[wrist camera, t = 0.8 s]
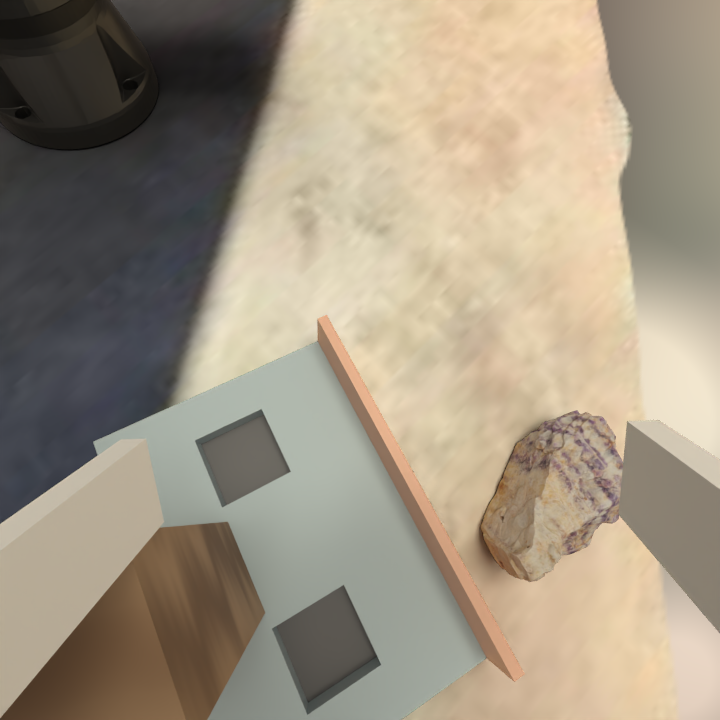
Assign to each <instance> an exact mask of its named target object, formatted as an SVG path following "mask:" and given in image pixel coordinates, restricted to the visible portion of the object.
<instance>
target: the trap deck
mask: <svg viewBox="0 0 720 720" xmlns="http://www.w3.org/2000/svg"><path fill="white" fill-rule="evenodd" d="M121 439H146V441H147V446H148V450H149V455H150V459H151V464H152V469H153V473H154V478H155V483H156V487H157V492H158V496H159V501H160V506H161V510H162V515H163V519H164V523H163V524H162V525H161V526H160V528H162V527H173V526H185V525H196V524H208V523H219V522H228V523H229V525H230V528H231V530H232V533H233V535H234V538H235V540H236V542H237V545H238V547H239V550H240V552H241V555H242V557H243V560H244V562H245V564H246V567H247V569H248V572H249V574H250V577H251V579H252V581H253V584H254V586H255V589H256V591H257V594H258V596H259V599H260V601H261V603H262V606H263V608H264V611H265V614H264V616H263V618H262V620H261V621H260V623H259V625H258V627H257V629H256V631H255V632H254V634H253V636H252V638H251V640H250V642H249V644H248V645H247V647H246V649H245V651H244V653H243V655H242V656H241V658H240V660H239V662H238V664H237V666H236V668H235V669H234V671H233V673H232V675H231V677H230V679H229V681H228V682H227V684H226V686H225V688H224V690H223V692H222V693H221V695H220V697H219V699H218V701H217V703H216V705H215V706H214V708H213V710H212V712H211V714H210V716H209V717H208V719H207V720H402V719H403V718H405V717H406V716H407V715H409V714H410V713H412V712H413V711H414V710H416V709H417V708H418V707H420V706H421V705H423V704H424V703H425V702H427V701H428V700H430V699H431V698H432V697H434V696H435V695H436V694H438V693H439V692H441V691H442V690H443V689H445V688H446V687H447V686H449V685H450V684H452V683H453V682H454V681H456V680H457V679H458V678H460V677H461V676H463V675H464V674H465V673H467V672H468V671H470V670H471V669H472V668H474V667H475V666H476V665H478V664H479V663H481V662H482V661H483V660H485V659H486V658H487V659H488V660H490V661H491V662H492V663H493V664H494V665H495V666H497V667H498V668H499V669H500V670H501V671H502V672H504V673H505V674H506V675H507V676H508V677H509V678H511V679H512V680H513V681H514V682H515V681H516V680H517V679H519V678H520V677H521V676H523V675H524V672H523V670H522V668H521V667H520V665H519V663H518V661H517V659H516V658H515V656H514V654H513V652H512V650H511V649H510V647H509V645H508V643H507V641H506V639H505V638H504V636H503V634H502V632H501V630H500V629H499V627H498V625H497V623H496V621H495V619H494V618H493V616H492V614H491V612H490V610H489V609H488V607H487V605H486V603H485V601H484V600H483V598H482V596H481V594H480V592H479V590H478V589H477V587H476V585H475V583H474V581H473V580H472V578H471V576H470V574H469V572H468V570H467V569H466V567H465V565H464V563H463V561H462V560H461V558H460V556H459V554H458V552H457V551H456V549H455V547H454V545H453V543H452V541H451V540H450V538H449V536H448V534H447V532H446V531H445V529H444V527H443V525H442V523H441V521H440V520H439V518H438V516H437V514H436V512H435V511H434V509H433V507H432V505H431V503H430V502H429V500H428V498H427V496H426V494H425V492H424V491H423V489H422V487H421V485H420V483H419V482H418V480H417V478H416V476H415V474H414V473H413V471H412V469H411V467H410V465H409V463H408V462H407V460H406V458H405V456H404V454H403V453H402V451H401V449H400V447H399V445H398V443H397V442H396V440H395V438H394V436H393V434H392V433H391V431H390V429H389V427H388V425H387V424H386V422H385V420H384V418H383V416H382V414H381V413H380V411H379V409H378V407H377V405H376V404H375V402H374V400H373V398H372V396H371V394H370V393H369V391H368V389H367V387H366V385H365V384H364V382H363V380H362V378H361V376H360V375H359V373H358V371H357V369H356V367H355V365H354V364H353V362H352V360H351V358H350V356H349V355H348V353H347V351H346V349H345V347H344V345H343V344H342V342H341V340H340V338H339V336H338V335H337V333H336V331H335V329H334V327H333V326H332V324H331V322H330V320H329V318H328V316H327V315H325V316H323V317H321V318H319V319H318V341H317V342H315V343H313V344H310V345H308V346H306V347H304V348H301V349H299V350H297V351H295V352H292V353H290V354H288V355H286V356H284V357H281V358H279V359H277V360H275V361H272V362H270V363H268V364H266V365H263V366H261V367H259V368H257V369H255V370H252V371H250V372H248V373H246V374H243V375H241V376H239V377H237V378H235V379H232V380H230V381H228V382H226V383H223V384H221V385H219V386H217V387H214V388H212V389H210V390H208V391H206V392H203V393H201V394H199V395H197V396H194V397H192V398H190V399H188V400H185V401H183V402H181V403H179V404H177V405H174V406H172V407H170V408H168V409H165V410H163V411H161V412H159V413H156V414H154V415H152V416H150V417H148V418H145V419H143V420H141V421H139V422H136V423H134V424H132V425H130V426H128V427H125V428H123V429H121V430H119V431H116V432H114V433H112V434H110V435H107V436H105V437H103V438H101V439H99V440H96V441H94V442H93V443H94V446H95V449H96V452H97V455H99V454H101V453H102V452H104V451H105V450H106V449H108V448H109V447H111V446H112V445H114V444H115V443H116V442H118V441H119V440H121Z"/></svg>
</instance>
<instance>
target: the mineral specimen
mask: <svg viewBox="0 0 720 720" xmlns="http://www.w3.org/2000/svg"><path fill="white" fill-rule="evenodd" d="M615 438H616V436H615V435H614V433H613V431H612V430H611V429H610V427H609V426H608V424H607V422H606V421H605V420H604V418H603V417H602V416H592V415H591V414H589V413H587V412H585V413H583V414H579V412H578V411H573V412H570V413H568V414H565V415H563V416H561V417H558V418H556V419H554V420H552V421H545V422H544V423H543V424H541V426H540V427H539V429H538V430H536V431H532V432H531V433H530V434H529V435H528V436H526V437H525V438H524V439H522V440H521V441H520V442H518V443H517V444H516V446H515V449H514V451H513V454H512V455H511V458H510V461H509V463H508V465H507V467H506V470H505V472H504V475H503V479H502V480H501V481H500V484H499V487H498V490H497V492H496V494H495V496H494V497H493V499H492V500H491V502H490V503H489V506H488V508H487V510H486V513H485V515H484V520H482V522H483V523H482V525H481V530H482V531H483V536H484V540H485V542H486V544H487V546H488V548H489V550H490V552H491V554H492V555H493V557H494V559H495V561H496V562H497V563H498V564H499V566H500V567H501V568H502V569H505V570H506V571H507V572H508V573H509V574H510V575H512V576H514V577H516V578H519V579H524V580H527V581H530V582H532V581H537V580H539V579H541V578H542V577H544V575H545V573H548V572H550V571H552V570H553V569H554V565H555V564H556V563H558V561H559V560H560V559H561V555H569V554H572V553H575V552H577V551H579V550H581V549H583V548H586V547H587V546H588V545H589V544H590V542H591V538H592V536H593V533H594V531H595V530H596V529H597V528H598V527H599V526H600V524H602V523H614V522H616V521H617V520H618V519H619V504H620V493H621V482H622V471H623V461H622V459H621V458H620V456H619V454H618V452H617V450H616V443H615Z"/></svg>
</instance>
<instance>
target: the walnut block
mask: <svg viewBox="0 0 720 720" xmlns="http://www.w3.org/2000/svg"><path fill="white" fill-rule="evenodd" d="M264 614H265V611H264V608H263V606H262V603H261V601H260V599H259V596H258V594H257V591H256V589H255V586H254V584H253V581H252V579H251V577H250V574H249V572H248V569H247V567H246V564H245V562H244V560H243V557H242V555H241V552H240V550H239V547H238V545H237V542H236V540H235V538H234V535H233V533H232V530H231V528H230V525H229V523H228V522H219V523H208V524H196V525H185V526H173V527H162V528H159V529H158V530H157V531H156V532H155V534H154V535H153V536H152V537H151V538H150V540H149V541H148V542H147V543H146V544H145V546H144V547H143V548H142V549H141V550H140V551H139V553H138V554H137V555H136V556H135V557H134V559H133V560H132V561H131V562H130V563H129V565H128V566H127V567H126V568H125V569H124V571H123V572H122V573H121V574H120V575H119V577H118V578H117V579H116V580H115V581H114V583H113V584H112V585H111V586H110V587H109V589H108V590H107V591H106V592H105V593H104V595H103V596H102V597H101V598H100V599H99V601H98V602H97V603H96V604H95V605H94V607H93V608H92V609H91V610H90V611H89V613H88V614H87V615H86V616H85V617H84V619H83V620H82V621H81V622H80V623H79V625H78V626H77V627H76V628H75V629H74V631H73V632H72V633H71V634H70V635H69V637H68V638H67V639H66V640H65V641H64V643H63V644H62V645H61V646H60V647H59V648H58V650H57V651H56V652H55V653H54V654H53V656H52V657H51V658H50V659H49V660H48V662H47V663H46V664H45V665H44V666H43V668H42V669H41V670H40V671H39V672H38V674H37V675H36V676H35V677H34V678H33V680H32V681H31V682H30V683H29V684H28V686H27V687H26V688H25V689H24V690H23V692H22V693H21V694H20V695H19V696H18V698H17V699H16V700H15V701H14V702H13V704H12V705H11V706H10V707H9V708H8V710H7V711H6V712H5V713H4V714H3V716H2V717H1V718H0V720H207V719H208V717H209V716H210V714H211V712H212V710H213V708H214V706H215V705H216V703H217V701H218V699H219V697H220V695H221V693H222V692H223V690H224V688H225V686H226V684H227V682H228V681H229V679H230V677H231V675H232V673H233V671H234V669H235V668H236V666H237V664H238V662H239V660H240V658H241V656H242V655H243V653H244V651H245V649H246V647H247V645H248V644H249V642H250V640H251V638H252V636H253V634H254V632H255V631H256V629H257V627H258V625H259V623H260V621H261V620H262V618H263V616H264Z"/></svg>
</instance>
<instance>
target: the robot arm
mask: <svg viewBox="0 0 720 720" xmlns="http://www.w3.org/2000/svg"><path fill="white" fill-rule="evenodd" d="M157 97H158V80H157V76H156V74H155V71H154V68H153V65H152V63H151V60H150V57H149V55H148V53H147V51H146V49H145V48H144V46H143V44H142V43H141V42H140V40H139V39H138V38H137V36H136V35H135V33H134V32H133V31H132V29H131V28H130V27H129V25H128V24H127V23H126V21H125V20H124V18H123V17H122V16H121V14H120V13H119V12H118V10H117V9H116V8H115V6H114V5H113V3H112V2H111V1H110V0H0V122H1V123H2V124H3V125H4V126H5V127H6V128H7V129H8V130H9V131H10V132H11V133H13V134H14V135H16V136H17V137H19V138H21V139H23V140H25V141H27V142H30V143H32V144H35V145H39V146H43V147H48V148H55V149H81V148H88V147H93V146H98V145H102V144H105V143H108V142H111V141H113V140H116V139H118V138H120V137H122V136H124V135H126V134H127V133H129V132H131V131H132V130H134V129H135V128H136V127H137V126H139V125H140V124H141V123H142V122H143V121H144V120H145V119H146V118H147V116H148V115H149V114H150V112H151V111H152V109H153V108H154V105H155V103H156V100H157ZM619 515H620V517H621V518H622V519H623V520H624V521H625V523H626V524H627V525H628V526H629V527H630V528H631V530H632V531H633V532H634V533H635V534H636V535H637V537H638V538H639V539H640V540H641V541H642V543H643V544H644V545H645V546H646V547H647V548H648V550H649V551H650V552H651V553H652V554H653V555H654V557H655V558H656V559H657V560H658V561H659V562H660V564H661V565H662V566H663V567H664V568H665V570H666V571H667V572H668V573H669V574H670V575H671V577H672V578H673V579H674V580H675V581H676V582H677V584H678V585H679V586H680V587H681V588H682V589H683V591H684V592H685V593H686V594H687V595H688V597H689V598H690V599H691V600H692V601H693V602H694V603H695V605H696V606H697V607H698V608H699V609H700V611H701V612H702V613H703V614H704V615H705V616H706V618H707V619H708V620H709V621H710V622H711V623H712V624H713V626H714V627H715V628H716V629H717V630H718V632H719V633H720V459H718V458H717V457H715V456H714V455H712V454H710V453H709V452H707V451H706V450H704V449H702V448H701V447H700V446H698V445H696V444H694V443H693V442H692V441H690V440H689V439H687V438H686V437H684V436H682V435H681V434H679V433H678V432H676V431H675V430H673V429H672V428H670V427H668V426H667V425H665V424H664V423H662V422H661V421H659V420H647V421H627V429H626V439H625V450H624V461H623V471H622V482H621V493H620V504H619ZM163 523H164V519H163V515H162V510H161V506H160V501H159V496H158V492H157V487H156V483H155V478H154V473H153V469H152V464H151V459H150V455H149V450H148V446H147V441H146V439H121V440H119V441H118V442H116V443H115V444H114V445H112V446H111V447H109V448H108V449H106V450H105V451H104V452H102V453H101V454H99V455H98V456H96V457H95V458H94V459H92V460H91V461H89V462H88V463H86V464H85V465H84V466H82V467H81V468H79V469H78V470H77V471H75V472H74V473H72V474H71V475H69V476H68V477H67V478H65V479H64V480H62V481H61V482H59V483H58V484H57V485H55V486H54V487H52V488H51V489H49V490H48V491H47V492H45V493H44V494H42V495H41V496H40V497H38V498H37V499H35V500H34V501H32V502H31V503H30V504H28V505H27V506H25V507H24V508H22V509H21V510H20V511H18V512H17V513H15V514H14V515H12V516H11V517H10V518H8V519H7V520H5V521H4V522H2V523H1V524H0V718H1V717H2V716H3V714H4V713H5V712H6V711H7V710H8V708H9V707H10V706H11V705H12V704H13V702H14V701H15V700H16V699H17V698H18V696H19V695H20V694H21V693H22V692H23V690H24V689H25V688H26V687H27V686H28V684H29V683H30V682H31V681H32V680H33V678H34V677H35V676H36V675H37V674H38V672H39V671H40V670H41V669H42V668H43V666H44V665H45V664H46V663H47V662H48V660H49V659H50V658H51V657H52V656H53V654H54V653H55V652H56V651H57V650H58V648H59V647H60V646H61V645H62V644H63V643H64V641H65V640H66V639H67V638H68V637H69V635H70V634H71V633H72V632H73V631H74V629H75V628H76V627H77V626H78V625H79V623H80V622H81V621H82V620H83V619H84V617H85V616H86V615H87V614H88V613H89V611H90V610H91V609H92V608H93V607H94V605H95V604H96V603H97V602H98V601H99V599H100V598H101V597H102V596H103V595H104V593H105V592H106V591H107V590H108V589H109V587H110V586H111V585H112V584H113V583H114V581H115V580H116V579H117V578H118V577H119V575H120V574H121V573H122V572H123V571H124V569H125V568H126V567H127V566H128V565H129V563H130V562H131V561H132V560H133V559H134V557H135V556H136V555H137V554H138V553H139V551H140V550H141V549H142V548H143V547H144V546H145V544H146V543H147V542H148V541H149V540H150V538H151V537H152V536H153V535H154V534H155V532H156V531H157V530H158V529H159V528H160V526H161V525H162V524H163Z"/></svg>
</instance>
